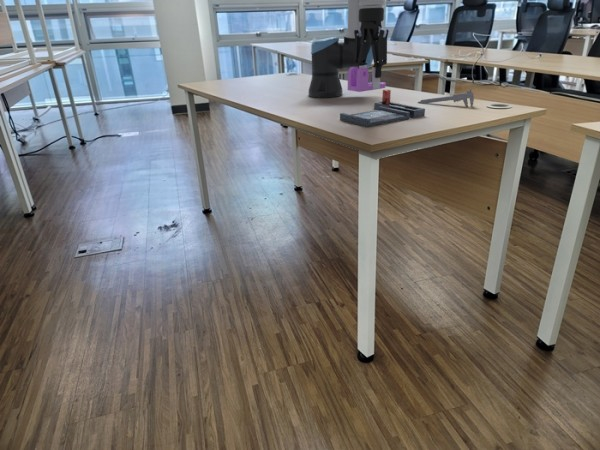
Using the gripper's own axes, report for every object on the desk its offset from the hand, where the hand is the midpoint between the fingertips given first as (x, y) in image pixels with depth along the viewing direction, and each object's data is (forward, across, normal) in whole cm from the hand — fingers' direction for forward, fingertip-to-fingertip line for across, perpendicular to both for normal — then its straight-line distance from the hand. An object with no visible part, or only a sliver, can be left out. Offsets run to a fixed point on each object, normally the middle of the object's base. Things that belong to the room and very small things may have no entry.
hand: (369, 87), depth 137 cm
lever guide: (+10, -1, +15) cm, 18 cm away
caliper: (+11, 0, +37) cm, 38 cm away
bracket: (+1, 0, 0) cm, 1 cm away
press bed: (+10, +2, +1) cm, 10 cm away
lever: (+9, -4, +15) cm, 18 cm away
